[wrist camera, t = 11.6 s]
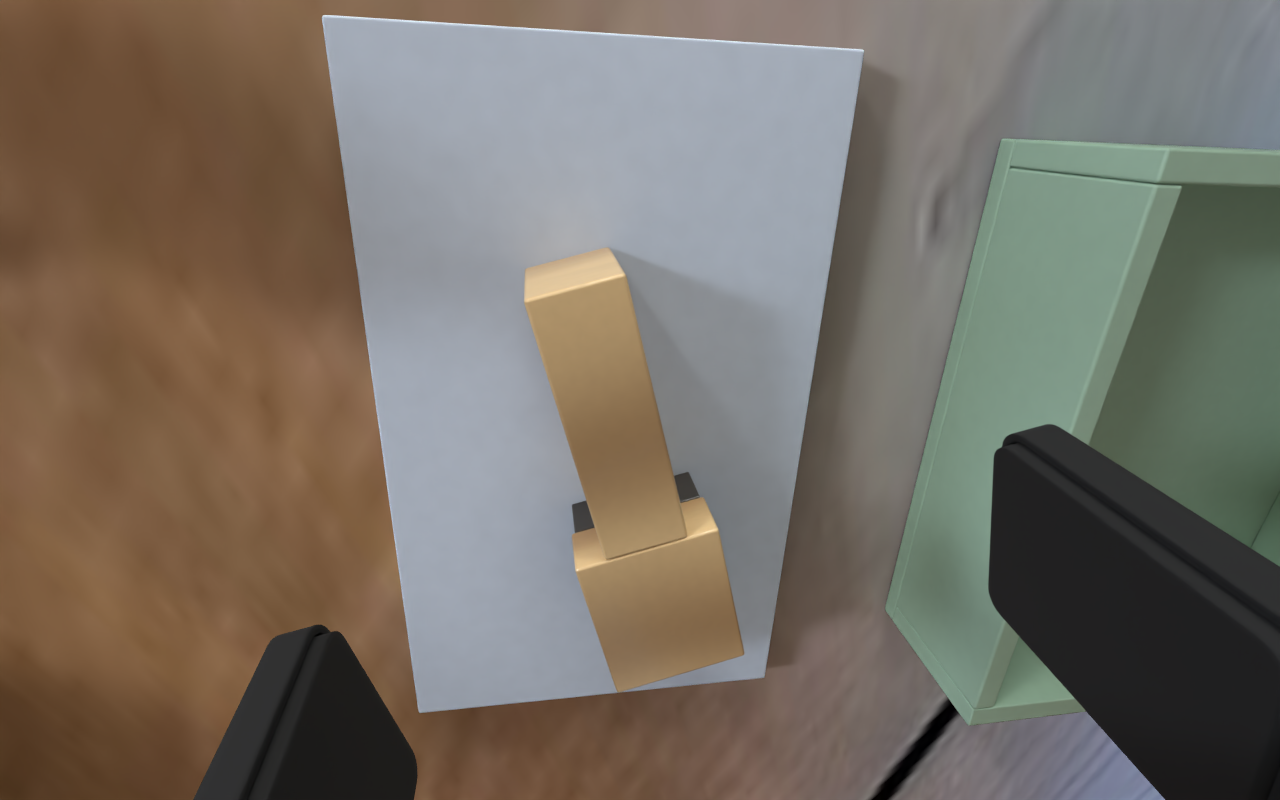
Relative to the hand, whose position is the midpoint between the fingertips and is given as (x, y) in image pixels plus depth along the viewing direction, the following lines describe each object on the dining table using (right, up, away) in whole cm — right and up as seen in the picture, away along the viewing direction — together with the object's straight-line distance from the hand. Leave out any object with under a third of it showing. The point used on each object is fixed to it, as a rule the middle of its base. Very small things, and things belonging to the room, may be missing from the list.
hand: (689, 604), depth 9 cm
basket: (+16, +3, +13) cm, 21 cm away
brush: (-1, +2, +9) cm, 9 cm away
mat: (-2, +2, +10) cm, 10 cm away
